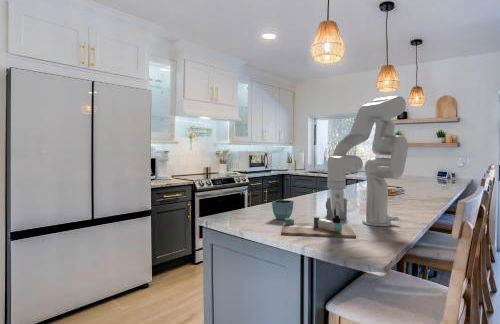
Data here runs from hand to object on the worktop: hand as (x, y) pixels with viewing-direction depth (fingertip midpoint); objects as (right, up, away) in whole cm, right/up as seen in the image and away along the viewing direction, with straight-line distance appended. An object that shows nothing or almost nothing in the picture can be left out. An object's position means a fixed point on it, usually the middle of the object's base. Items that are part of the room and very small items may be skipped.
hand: (336, 227), depth 136 cm
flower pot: (-21, -1, +25) cm, 32 cm away
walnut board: (-8, -2, +2) cm, 8 cm away
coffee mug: (+7, -1, +30) cm, 31 cm away
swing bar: (-3, -1, -2) cm, 4 cm away
